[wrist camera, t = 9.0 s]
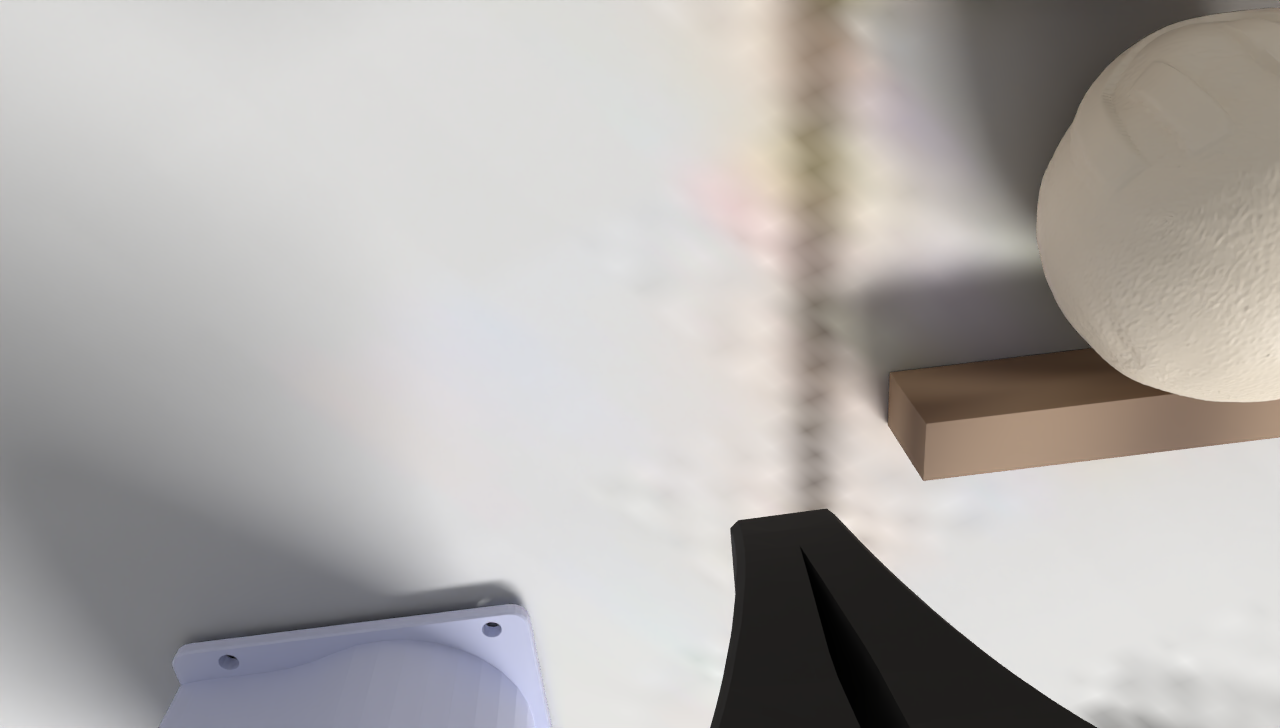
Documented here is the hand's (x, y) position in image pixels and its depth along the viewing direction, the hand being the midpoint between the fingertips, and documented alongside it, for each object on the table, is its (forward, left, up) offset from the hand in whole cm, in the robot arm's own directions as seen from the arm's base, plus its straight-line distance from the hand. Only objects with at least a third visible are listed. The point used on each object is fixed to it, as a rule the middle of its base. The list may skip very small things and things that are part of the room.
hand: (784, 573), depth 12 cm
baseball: (+10, +2, -10) cm, 14 cm away
